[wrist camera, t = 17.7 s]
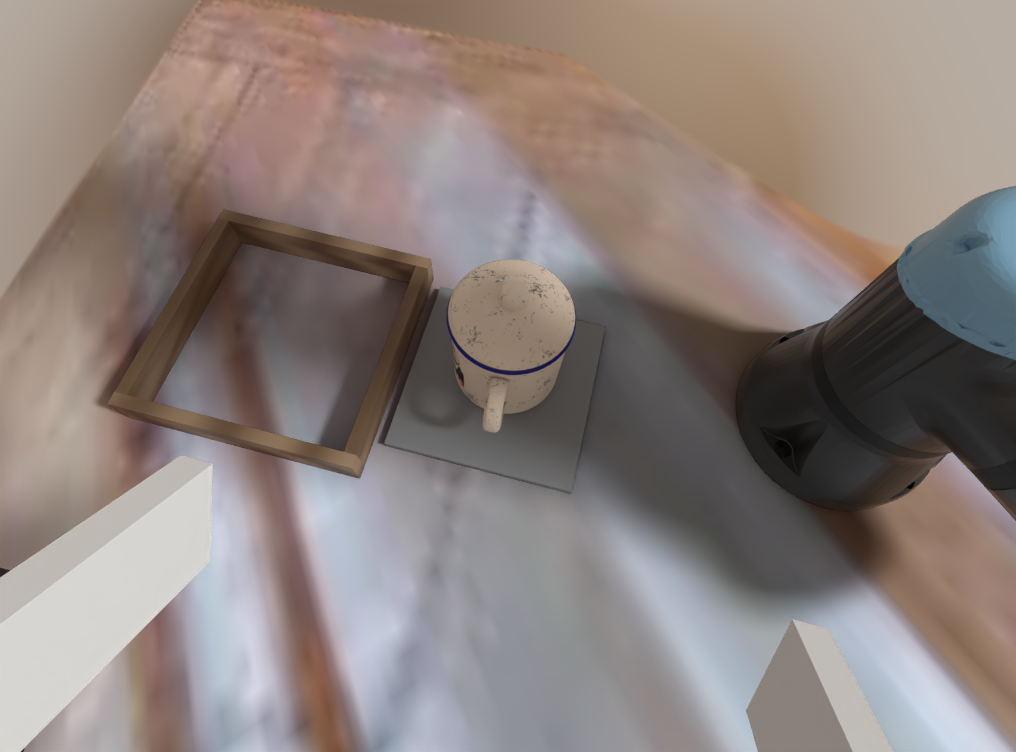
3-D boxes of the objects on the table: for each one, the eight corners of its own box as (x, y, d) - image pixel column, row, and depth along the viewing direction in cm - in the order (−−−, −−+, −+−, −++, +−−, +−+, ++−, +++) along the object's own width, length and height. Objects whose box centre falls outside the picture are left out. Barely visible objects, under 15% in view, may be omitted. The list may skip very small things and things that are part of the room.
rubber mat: (604, 330, 50) (605, 326, 49) (570, 493, 43) (571, 492, 43) (440, 290, 50) (440, 286, 50) (385, 445, 44) (384, 443, 44)
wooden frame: (433, 279, 51) (430, 259, 48) (359, 478, 43) (351, 468, 40) (236, 231, 52) (223, 209, 49) (129, 417, 44) (107, 403, 42)
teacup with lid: (464, 311, 49) (460, 223, 38) (566, 330, 49) (591, 246, 38) (431, 440, 44) (417, 380, 33) (546, 462, 44) (568, 408, 33)
